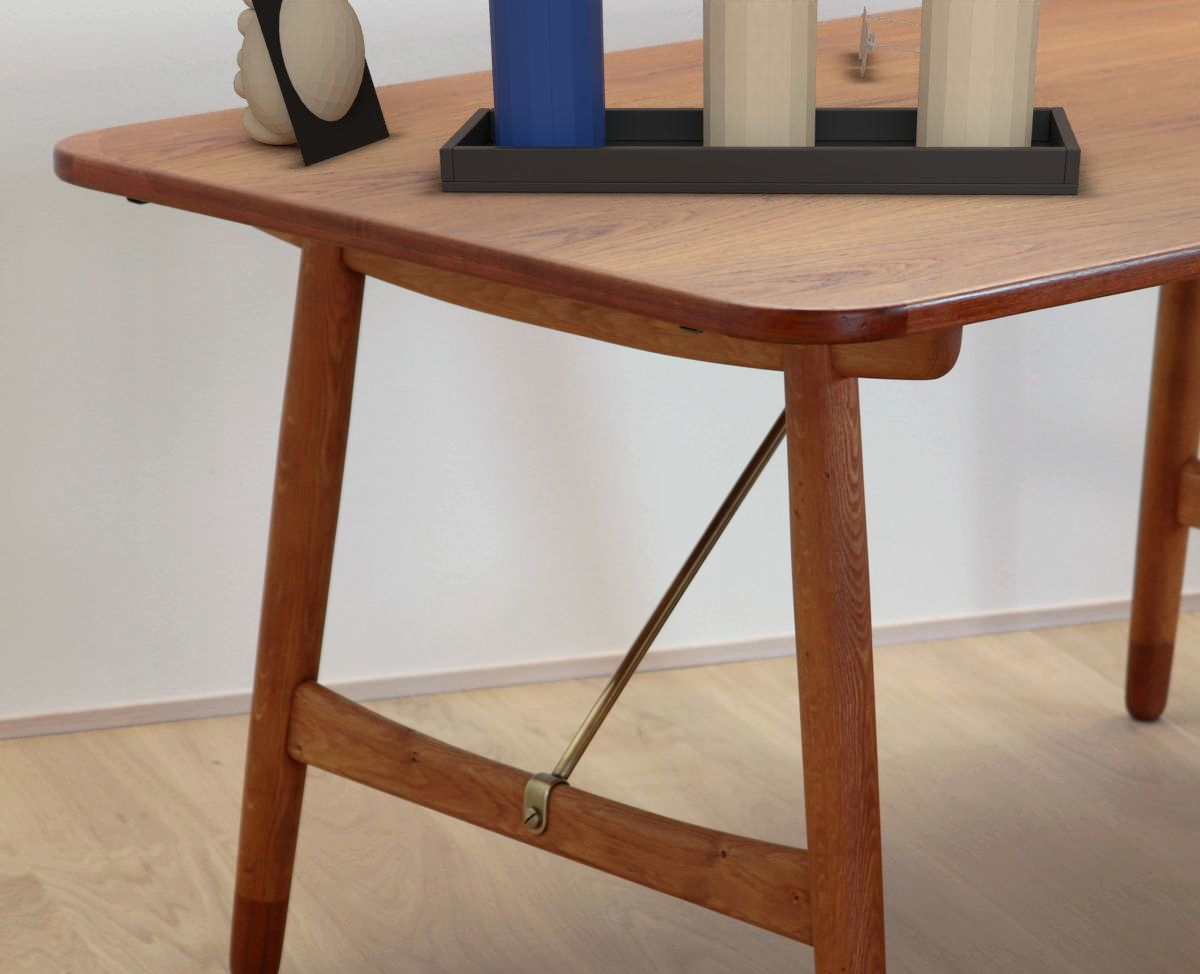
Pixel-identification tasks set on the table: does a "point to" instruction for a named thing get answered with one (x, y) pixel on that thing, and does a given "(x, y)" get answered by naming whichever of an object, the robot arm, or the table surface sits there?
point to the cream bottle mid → (759, 73)
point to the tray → (764, 158)
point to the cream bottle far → (977, 73)
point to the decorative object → (307, 77)
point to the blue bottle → (548, 72)
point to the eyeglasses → (873, 39)
